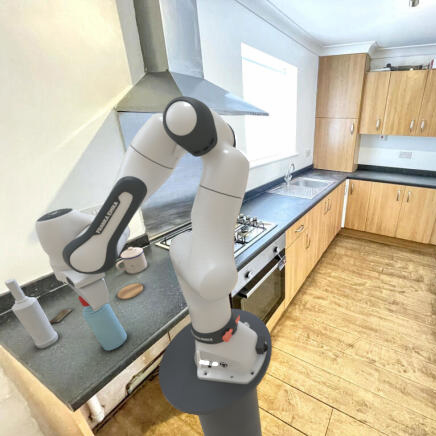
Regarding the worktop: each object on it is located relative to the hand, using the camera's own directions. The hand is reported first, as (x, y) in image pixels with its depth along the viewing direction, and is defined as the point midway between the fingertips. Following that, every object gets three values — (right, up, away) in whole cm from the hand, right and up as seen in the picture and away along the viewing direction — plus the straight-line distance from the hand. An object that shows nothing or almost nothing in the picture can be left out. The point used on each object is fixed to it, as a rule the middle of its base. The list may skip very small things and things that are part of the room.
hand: (92, 305), depth 69 cm
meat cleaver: (-27, -11, +15) cm, 32 cm away
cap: (0, +3, -1) cm, 4 cm away
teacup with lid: (-16, +1, +42) cm, 45 cm away
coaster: (-8, -5, +28) cm, 30 cm away
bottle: (-21, -15, +7) cm, 26 cm away
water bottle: (+2, -14, +7) cm, 16 cm away
